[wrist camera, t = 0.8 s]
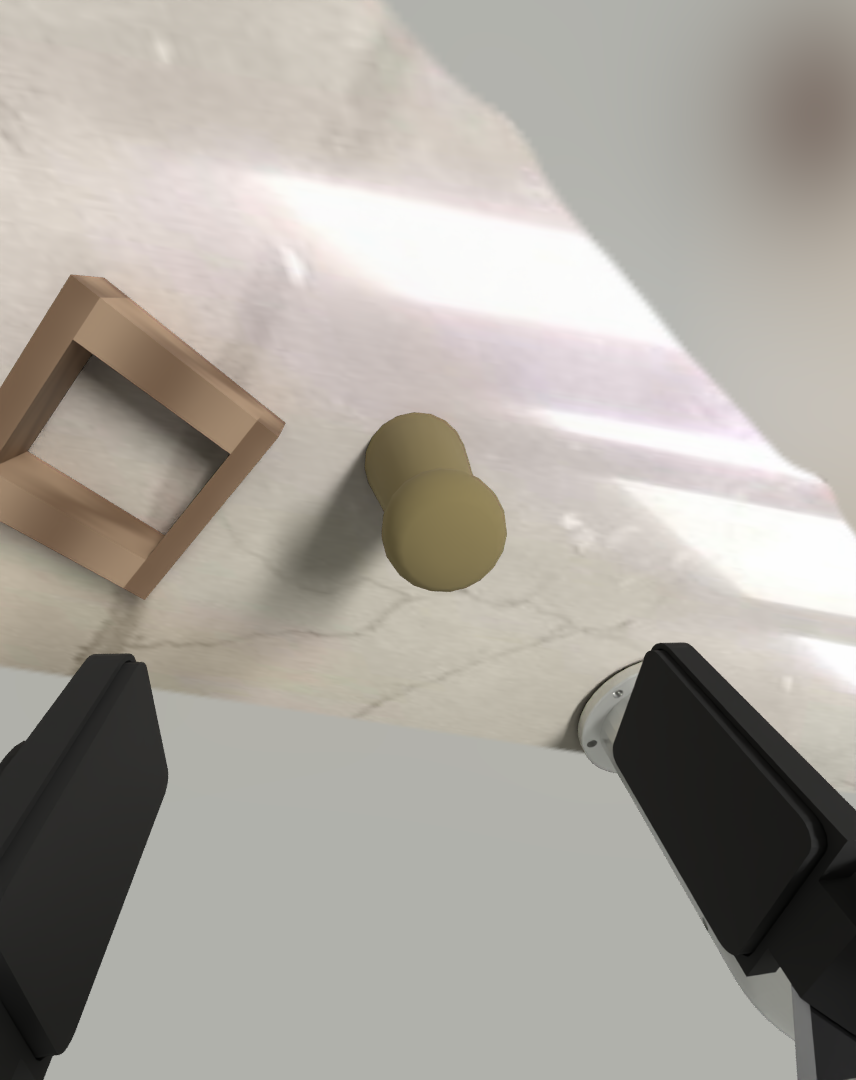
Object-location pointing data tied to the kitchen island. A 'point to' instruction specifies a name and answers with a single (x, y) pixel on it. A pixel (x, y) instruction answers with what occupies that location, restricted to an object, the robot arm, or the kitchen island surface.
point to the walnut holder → (159, 370)
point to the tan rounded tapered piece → (433, 504)
